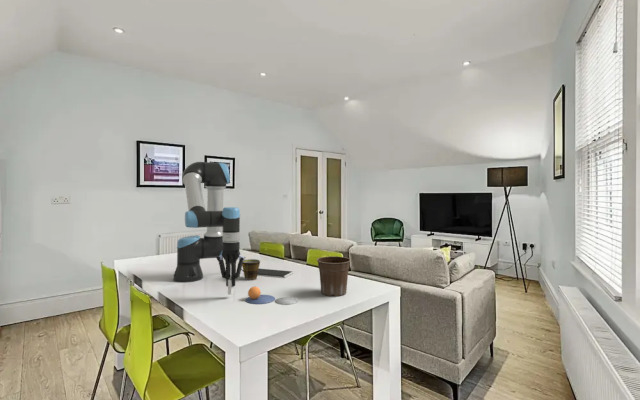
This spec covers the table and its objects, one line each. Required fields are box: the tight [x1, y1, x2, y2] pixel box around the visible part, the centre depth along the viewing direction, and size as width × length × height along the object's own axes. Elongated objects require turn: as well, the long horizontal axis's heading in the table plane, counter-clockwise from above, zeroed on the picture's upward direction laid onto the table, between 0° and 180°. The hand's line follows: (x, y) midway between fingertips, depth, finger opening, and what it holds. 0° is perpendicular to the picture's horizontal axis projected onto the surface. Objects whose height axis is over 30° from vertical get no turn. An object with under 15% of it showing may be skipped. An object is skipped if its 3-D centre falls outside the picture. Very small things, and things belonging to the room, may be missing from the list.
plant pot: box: [316, 255, 351, 297], centre depth 159 cm, size 16×16×16 cm
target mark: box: [245, 294, 276, 305], centre depth 148 cm, size 13×13×1 cm
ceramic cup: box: [241, 258, 261, 281], centre depth 183 cm, size 13×10×10 cm
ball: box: [247, 286, 262, 299], centre depth 148 cm, size 6×6×6 cm
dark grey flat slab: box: [257, 268, 295, 279], centre depth 197 cm, size 13×27×2 cm, turn 72°
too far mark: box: [274, 296, 299, 306], centre depth 146 cm, size 10×10×1 cm
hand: (230, 293), depth 150 cm, fingers closed
